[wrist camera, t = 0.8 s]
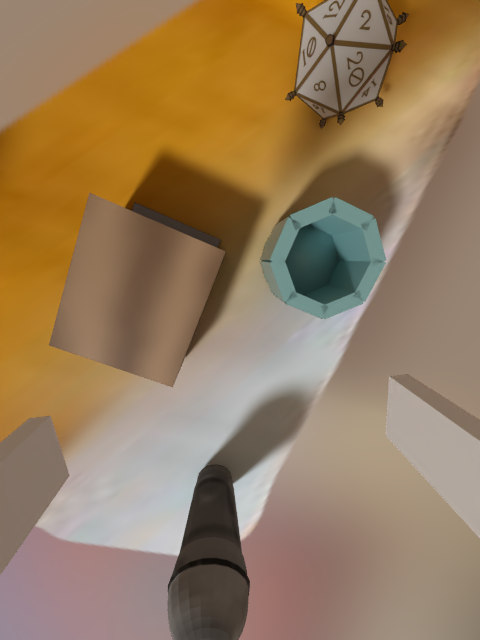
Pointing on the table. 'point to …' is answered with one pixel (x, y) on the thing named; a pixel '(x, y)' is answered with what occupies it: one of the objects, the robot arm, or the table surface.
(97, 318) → the brown wooden block
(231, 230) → the table surface
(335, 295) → the bowl
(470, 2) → the table surface
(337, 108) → the game die
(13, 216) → the table surface
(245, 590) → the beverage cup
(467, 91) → the table surface
